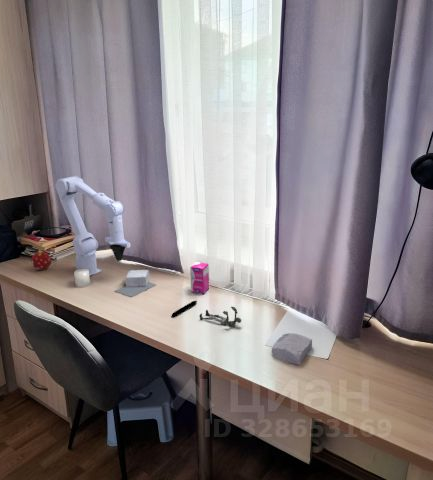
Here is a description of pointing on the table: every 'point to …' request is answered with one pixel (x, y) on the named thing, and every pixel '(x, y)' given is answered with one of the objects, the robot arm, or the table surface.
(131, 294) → the felt mat
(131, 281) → the medicine box
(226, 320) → the zombie figurine
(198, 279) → the supplement box
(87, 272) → the white round lump
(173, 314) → the pen
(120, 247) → the robot arm
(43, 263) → the christmas ornament
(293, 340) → the stone block
